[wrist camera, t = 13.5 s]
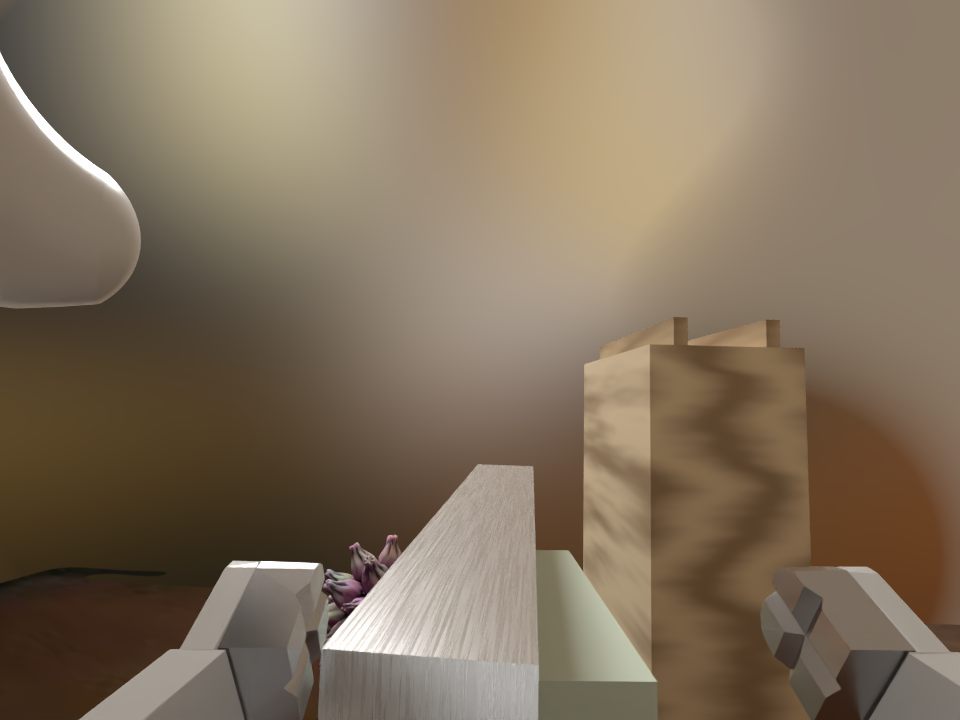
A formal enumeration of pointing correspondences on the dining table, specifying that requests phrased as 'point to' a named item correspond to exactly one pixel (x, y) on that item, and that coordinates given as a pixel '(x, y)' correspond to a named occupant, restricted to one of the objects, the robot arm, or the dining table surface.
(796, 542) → the oak stand
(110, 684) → the dining table surface
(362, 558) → the flower
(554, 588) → the sage block
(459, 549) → the steel bar
